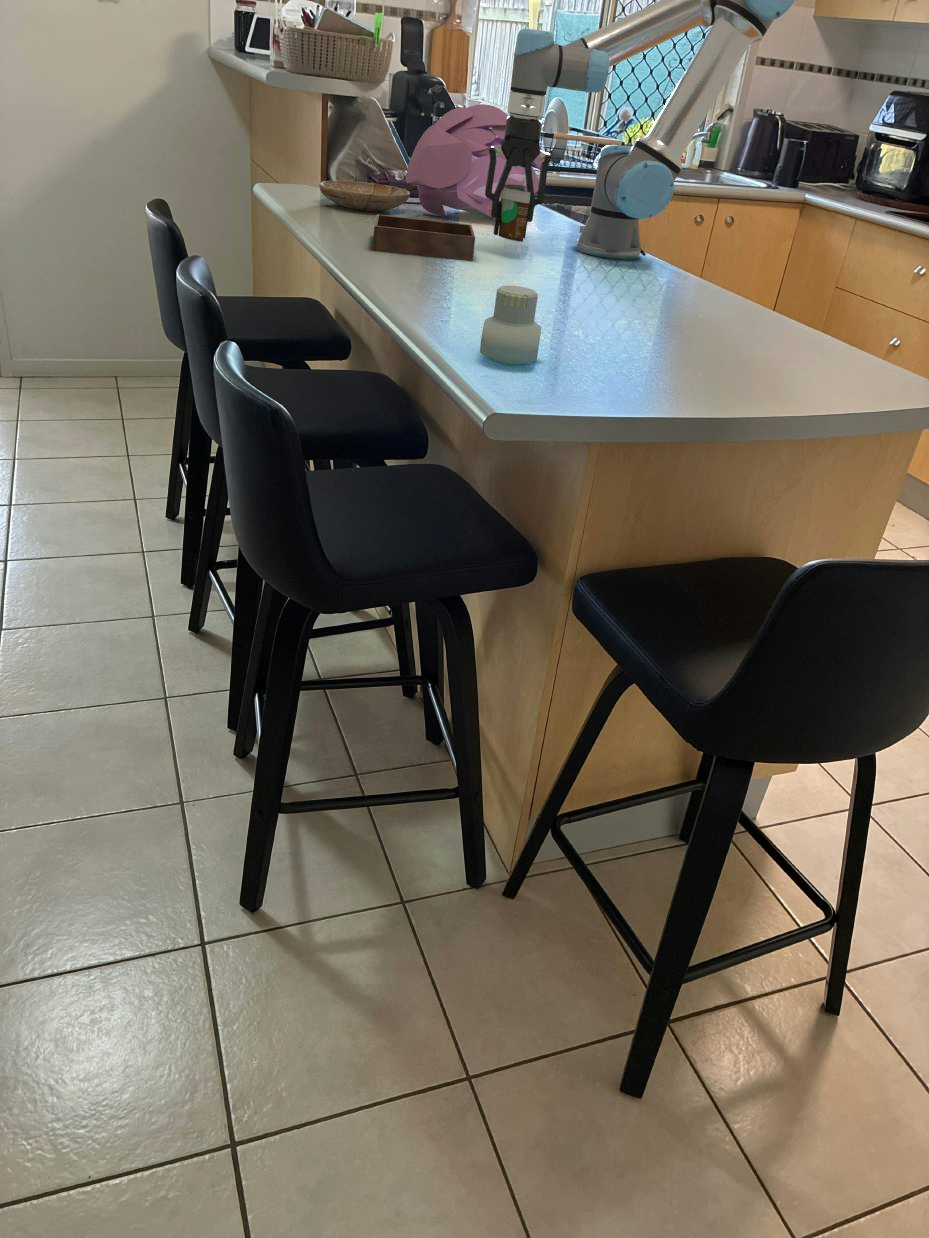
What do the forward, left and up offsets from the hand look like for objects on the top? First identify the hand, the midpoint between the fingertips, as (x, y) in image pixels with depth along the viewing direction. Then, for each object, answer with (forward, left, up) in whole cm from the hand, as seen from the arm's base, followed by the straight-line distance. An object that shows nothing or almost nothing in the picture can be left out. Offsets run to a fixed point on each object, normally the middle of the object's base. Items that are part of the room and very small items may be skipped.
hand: (509, 235), depth 202 cm
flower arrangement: (+5, -48, -4) cm, 48 cm away
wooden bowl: (+34, -44, -4) cm, 56 cm away
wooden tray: (+19, +3, -4) cm, 20 cm away
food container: (0, 0, 0) cm, 1 cm away
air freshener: (+7, +82, -4) cm, 82 cm away
